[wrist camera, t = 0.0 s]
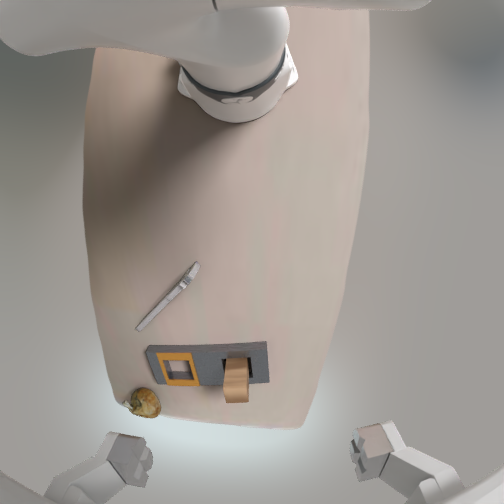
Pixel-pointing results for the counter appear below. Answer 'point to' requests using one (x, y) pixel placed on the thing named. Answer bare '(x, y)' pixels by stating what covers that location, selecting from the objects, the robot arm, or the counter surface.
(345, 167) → the counter surface
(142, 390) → the onion
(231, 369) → the peg
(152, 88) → the counter surface
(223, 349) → the rail
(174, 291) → the caliper
